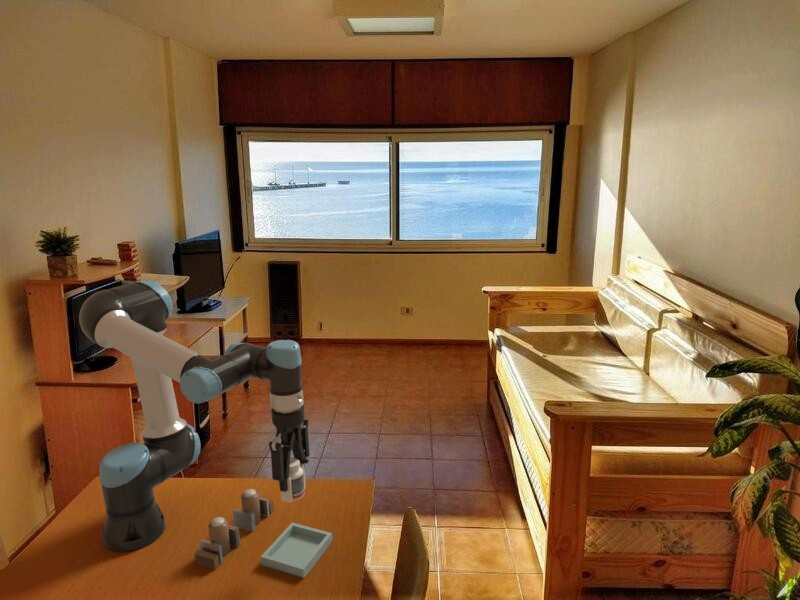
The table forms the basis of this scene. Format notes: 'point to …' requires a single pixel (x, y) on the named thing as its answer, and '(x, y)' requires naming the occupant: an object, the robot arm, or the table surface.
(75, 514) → the table surface
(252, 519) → the clip rail
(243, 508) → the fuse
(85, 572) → the table surface
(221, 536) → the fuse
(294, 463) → the pill bottle
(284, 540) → the tray
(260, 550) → the table surface
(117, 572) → the table surface
